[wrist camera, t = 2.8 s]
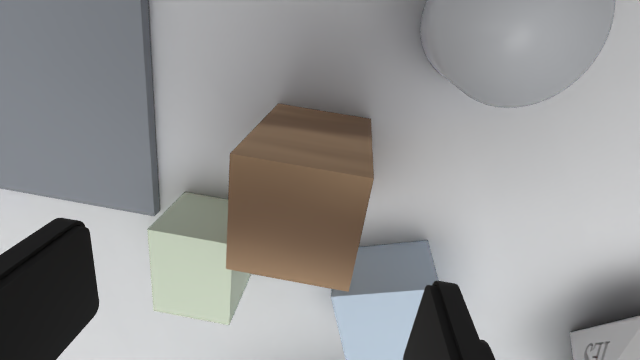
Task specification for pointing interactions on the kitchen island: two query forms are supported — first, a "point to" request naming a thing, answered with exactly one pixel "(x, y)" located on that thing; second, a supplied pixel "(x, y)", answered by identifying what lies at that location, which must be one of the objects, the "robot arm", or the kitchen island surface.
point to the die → (608, 341)
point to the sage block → (194, 261)
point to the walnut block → (300, 196)
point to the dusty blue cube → (383, 299)
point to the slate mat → (78, 102)
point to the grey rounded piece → (514, 45)
